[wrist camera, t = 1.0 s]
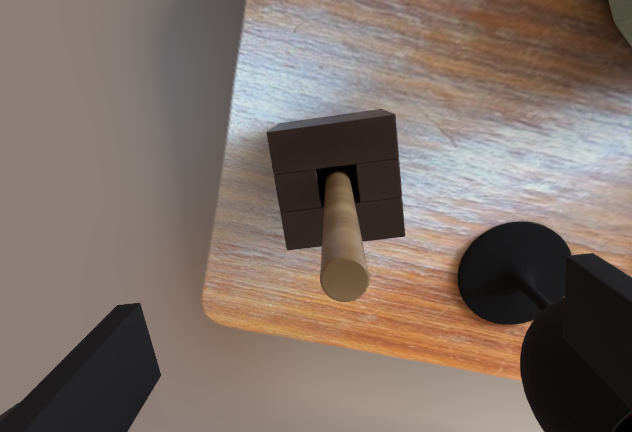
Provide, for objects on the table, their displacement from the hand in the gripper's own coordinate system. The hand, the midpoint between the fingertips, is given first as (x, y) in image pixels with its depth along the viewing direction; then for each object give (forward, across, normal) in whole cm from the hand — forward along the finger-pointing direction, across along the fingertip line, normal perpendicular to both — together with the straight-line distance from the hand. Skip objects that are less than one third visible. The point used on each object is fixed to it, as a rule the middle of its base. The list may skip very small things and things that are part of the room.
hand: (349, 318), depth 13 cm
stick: (+24, 0, 0) cm, 24 cm away
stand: (+24, 0, 0) cm, 24 cm away
